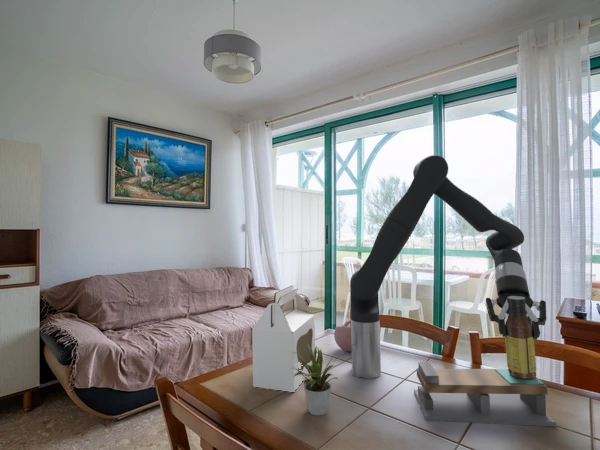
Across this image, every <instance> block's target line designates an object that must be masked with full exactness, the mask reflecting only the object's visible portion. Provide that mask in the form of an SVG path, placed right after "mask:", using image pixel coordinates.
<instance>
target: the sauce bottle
mask: <svg viewBox="0 0 600 450" xmlns="http://www.w3.org/2000/svg"><path fill="white" fill-rule="evenodd" d="M507 302H508V307H509V311H508V313H509V314H508V315H507V317H506V320H505V328H506V337H504V339H505V341H504V342H505V352H506V354H505V355H506V367H507V369H508V371H509V373H510V374H511V375H513V376H515V377H517V378H521V379H533V378H535V377H537V362H536V361H537V360H536V351H535V350H536V349H535V348H536V347H535V339H534V337H533V328H532V325H531V322H530V321H529V319H528V317H527V316H526V309H525V304H526V298H525V297H521V296H509V297H507Z"/></svg>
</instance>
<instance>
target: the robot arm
mask: <svg viewBox="0 0 600 450" xmlns="http://www.w3.org/2000/svg"><path fill="white" fill-rule="evenodd" d="M448 173H449V164H448V162H447V161H446V159H445V158H444V157H443V156H441V155H437V154H434V155H428V156H426V157H424V158H422V159H421V160H420V161H418V162H417V164H415V166H414V167H413V172H412V175H413V179H412V181H411V183H410V185H409V187H408V189H407V190H406V192H405V193H404V195H402V197H401V198H400V199H399V200H398V202H397V203H396V204H395V206H393V208H392V210H390V212H389V214H388V215H387V217H386V218H385V220H384V222H383V224H382V226H381V227H380V229H379V231H378V233H377V235H376V238H375V240H374V242H373V245H372V248H371V251H370V253H369V255H368V257H367V258H366V259H365V261H364V263H363V264H362V265H361V266H360V268H359V270H357V271H355V272H353V274H352V276H351V278H350V281H349V286H350V287H349V291H350V293H349V294H350V296H349V297H350V320H351V323H350V327H351V339H352V340H351V345H352V352H351V372H352V376H355V377H359V378H364V379H372V378H373V379H374V378H378V377H379V376H381V374H382V364H381V363H382V362H381V360H382V358H381V325H380V323H381V322H380V305H379V291H380V289H381V287H382V284H383V281H384V280H385V277H386V275H387V274H388V271H389V269H390V267H391V266H392V264H393V263H394V261H395V260H396V259H397V257H398V256H399V254H400V253H401V251H402V250H403V248H404V247H405V245H406V244H407V243H408V241H409V239H410V238H411V235H412V234H413V232H414V231H415V229H416V228H417V227H416V226H417V225H418V223H419V222H420V220H421V218H422V215H423V213H424V211H425V209H426V208H427V205H428V203H429V202H430V201H431V198H432V197H433V196H434V195H435V196H437V197H438V198H439V199H441V200H442V201H443V202H444V203H446V204H447V205H448V206H449V207H450V208H451V209H453V210H454V211H455V212H456V213H457V214H458V215H459V216H460V217H461V218H462V219H463V220H464V221H466V222H467V224H469V225H470V226H471V227H472V228H473V229H474V230H476V231H477V232H479V233H485V232H488V231H494V232H493V233H490V234H488V236H487V238H486V239H485V246H486V247H487V250H488V251H489V254H490V255H491V257H492V259H493V261H494V263H493V264H494V271H495V272H494V279H495V280H494V283H495V286H496V294H497V297H496V298H495V299H494V298H493V299H491V298H490V297H486V298H485V307H486V310H487V314H488V318H489V321H490V322H492V323H493V322H495V323H497V324H498V325H497V326H498V333H499V334H500V335H502V337H503V338H505V337H506V328H505V324H506V320H507V318H508V314H509V313H508V311H509V307H508V302H507V297H509V296H521V297H525V298H526V304H525V309H526V316H527V317H528V319H529V321H530V322H531V325H532V328H533V337H534V341H535V340H536V341H537V340H538V339H539V338H540V335H541V330H540V326H545V325H546V321H547V303H546V301H545V300H543V299H541V300H540V301H535V300H533V299H532V298H531V295H530V291H529V285H528V280H527V275H526V272H525V271H524V269H525V268H524V265H523V260H522V256H521V254H520V253H519V252H518V251H517V250H515V248H517V247H519V246H521V245H522V244H524V241H525V234H524V233H523V231H522V229H520V228H519V227H518V226H517V225H515V224H513V223H511V222H509V221H507V220H505V219H503V218H502V217H500V216H497V215H495V213H493V212H492V211H491V210H490V209H489V208H488V207H487V206H485V205H484V204H483V203H482V202H481V201H480V200H478V199H477V198H476V197H474V196H473V195H470V194H469V193H467V192H465V191H464V190H462V188H459V186H457V185H456V184H454V182H452V181H451V180H450V178H448V177H447V176H448ZM496 305H497V306H498V307H499V308H500V309H501V310H500V312H499V314H496V313H495V310H494V308H495V307H496ZM533 307H534V308H535V310H536V311H537V312H538V314H539V315H538V317H537V316H536V314H534V312H533V310H532V308H533Z"/></svg>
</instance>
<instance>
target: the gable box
mask: <svg viewBox="0 0 600 450" xmlns="http://www.w3.org/2000/svg"><path fill="white" fill-rule="evenodd" d="M298 290H299V288H296V289H295V286H294V285H290V286H287V287H284V288H282V289H280V290H278V291H276V292H275V293H274V296H273V302H271V303H269V304H268V305H267V306H266V308H265V310H264V311H263V312H262V314H261V316H260V317H259V319H258V320H257V322H256V324H255V325H254V327H253V328H252V329H251V332H252V334H251V337H252V338H251V339H252V343H251V344H252V346H251V347H252V387H253V386H257V387H265V388H272V389H277V390H283V391H289V392H288V393H290V392H294V393H295V392H296V391H297V390H298V389H299V388H300V386H301V385H302V383H303V382H304V381H305V380H306V378H307V376H305V377H306V378H305V377H303V376H302V375H301V374H300V375H297V376H294V375H295V374H296V373H298V371H297V370H296V369H298V370H302V371H300V372H303V373H305V374H309V372H308V370H307V369H306V368H305V366H304V365H305V364H304V363H305V362H306V363H307V365H308V366H310V365H312V361H311V358H310V352H309V348H308V345H309V346H310V347H311V348H312V351H313V355H314V350H315V347H316V340H315V339H316V336H315V327H316V326H315V314H314V313H313V312H312V311H311V309H310V307H309V306H308V305H307V303H306V302H305V300H304V299H303V297H302V296H301V295H300V294H299V293H297V292H298ZM307 344H308V345H307ZM292 352H295V353H292ZM296 353H297V354H296ZM298 354H299V355H300V356H301V357H302V358H303V359H304V360H305V362H304V360H303V359H302V358H301V357H300V356H299V355H298ZM297 355H298V356H297ZM297 361H301V362H300V363H302V364H304V365H303V366H301V369H299V368H298V362H297ZM303 362H304V363H303ZM302 364H301V365H302ZM293 368H295V369H293ZM307 368H308V367H307ZM309 371H310V370H309ZM305 374H303V375H305ZM293 376H294V377H293ZM302 378H304V379H302ZM302 381H303V382H302ZM299 385H300V386H299ZM296 389H297V390H296ZM295 390H296V391H295ZM283 391H282V392H283Z"/></svg>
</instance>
